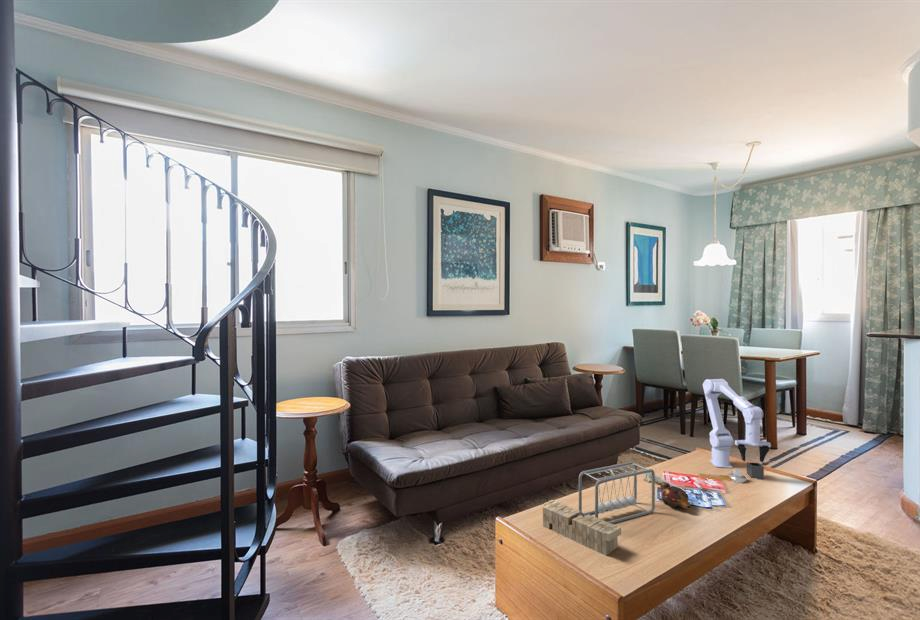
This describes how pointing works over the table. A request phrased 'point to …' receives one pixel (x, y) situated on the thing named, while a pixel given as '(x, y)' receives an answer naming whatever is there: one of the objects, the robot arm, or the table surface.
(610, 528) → the block tower
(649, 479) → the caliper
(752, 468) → the hollow square tube
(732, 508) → the table surface
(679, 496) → the decorative turtle
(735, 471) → the ratchet
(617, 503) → the newton's cradle
